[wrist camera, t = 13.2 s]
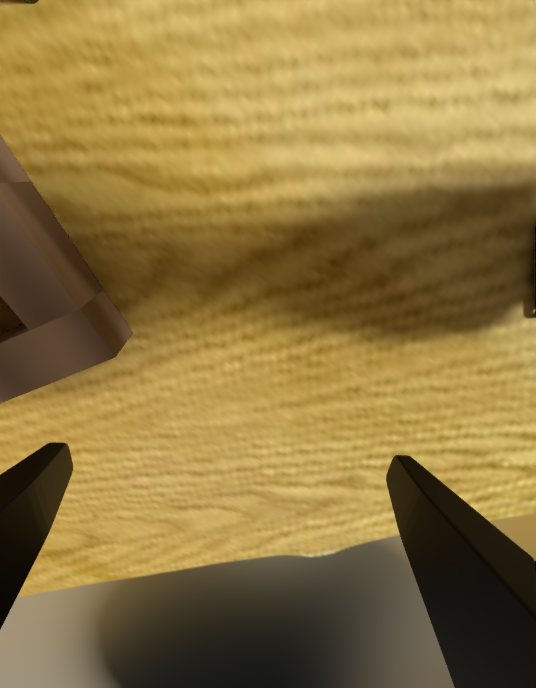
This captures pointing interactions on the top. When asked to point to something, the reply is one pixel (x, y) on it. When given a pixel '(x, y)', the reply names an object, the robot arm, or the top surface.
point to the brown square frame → (47, 293)
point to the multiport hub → (31, 1)
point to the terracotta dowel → (2, 301)
